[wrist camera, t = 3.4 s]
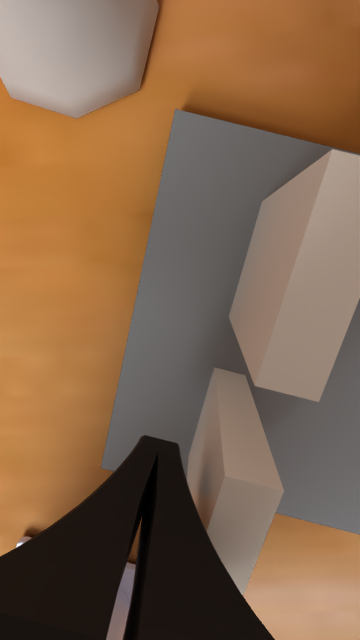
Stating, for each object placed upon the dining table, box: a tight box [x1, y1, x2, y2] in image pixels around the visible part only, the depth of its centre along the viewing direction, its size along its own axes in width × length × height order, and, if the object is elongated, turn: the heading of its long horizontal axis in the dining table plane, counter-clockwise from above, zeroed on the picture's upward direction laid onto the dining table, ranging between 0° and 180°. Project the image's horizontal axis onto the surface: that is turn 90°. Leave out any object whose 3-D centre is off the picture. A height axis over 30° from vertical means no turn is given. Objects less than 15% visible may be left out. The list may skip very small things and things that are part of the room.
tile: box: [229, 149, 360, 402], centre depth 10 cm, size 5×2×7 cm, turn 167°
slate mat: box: [101, 109, 360, 535], centre depth 14 cm, size 17×16×1 cm
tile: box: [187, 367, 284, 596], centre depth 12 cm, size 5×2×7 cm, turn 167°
